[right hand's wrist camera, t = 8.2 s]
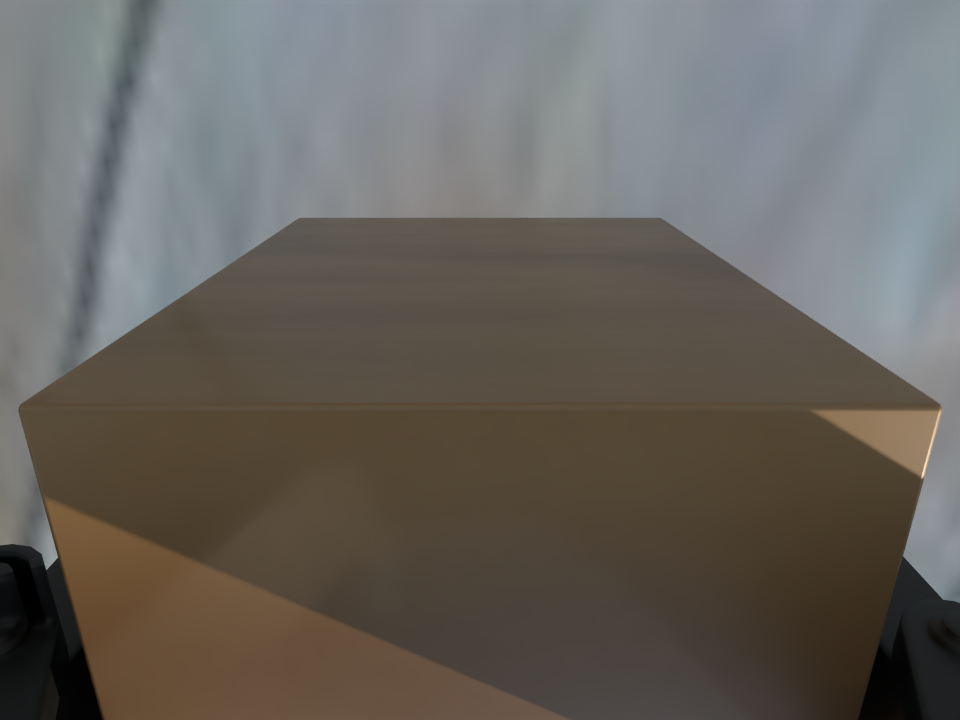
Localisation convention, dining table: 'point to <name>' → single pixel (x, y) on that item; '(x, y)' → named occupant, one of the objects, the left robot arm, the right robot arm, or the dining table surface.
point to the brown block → (480, 484)
